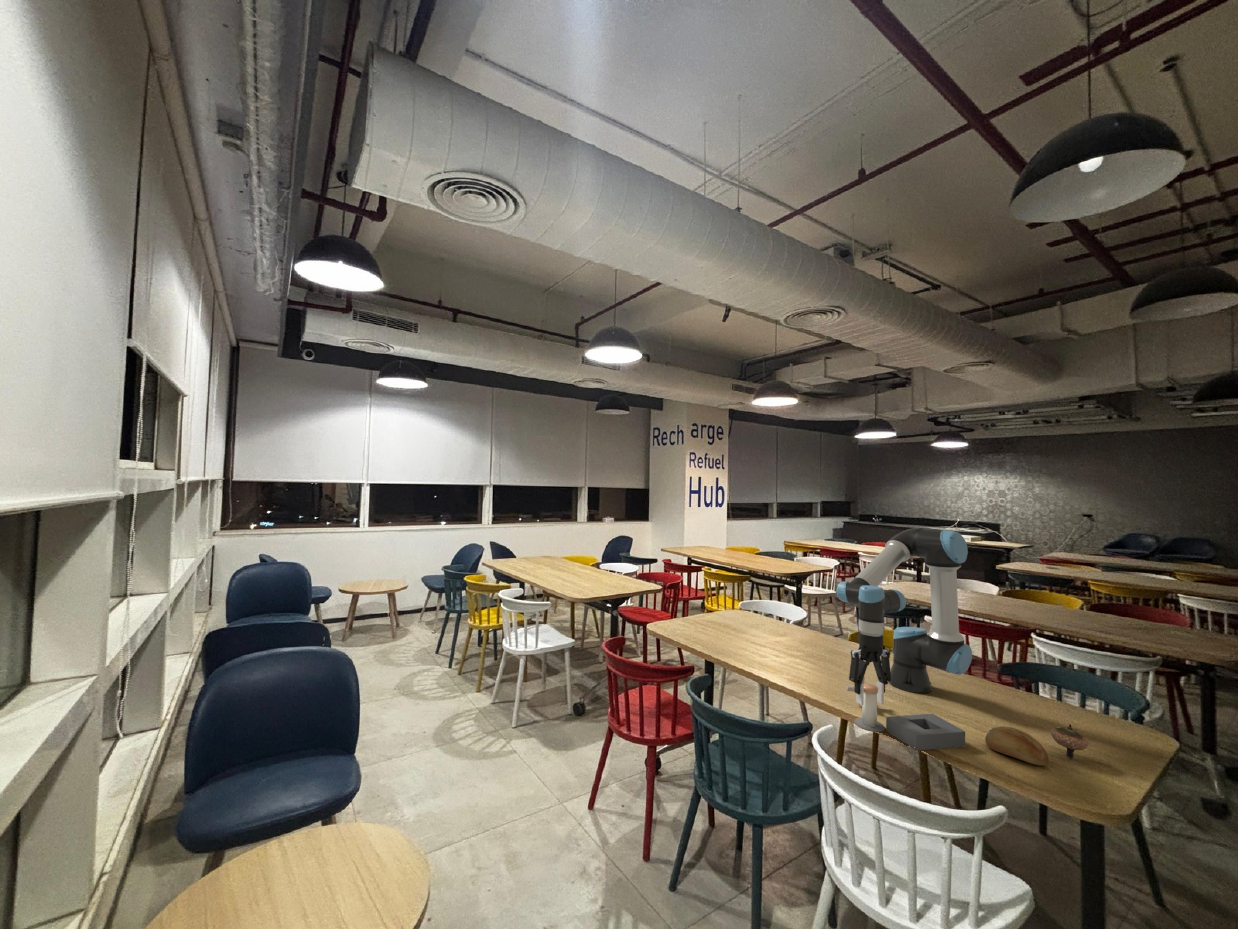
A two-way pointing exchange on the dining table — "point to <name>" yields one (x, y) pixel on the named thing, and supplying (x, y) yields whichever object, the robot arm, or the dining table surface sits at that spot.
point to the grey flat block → (925, 731)
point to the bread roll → (1016, 745)
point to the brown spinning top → (1069, 739)
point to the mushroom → (870, 706)
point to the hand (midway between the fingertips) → (869, 702)
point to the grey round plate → (873, 729)
